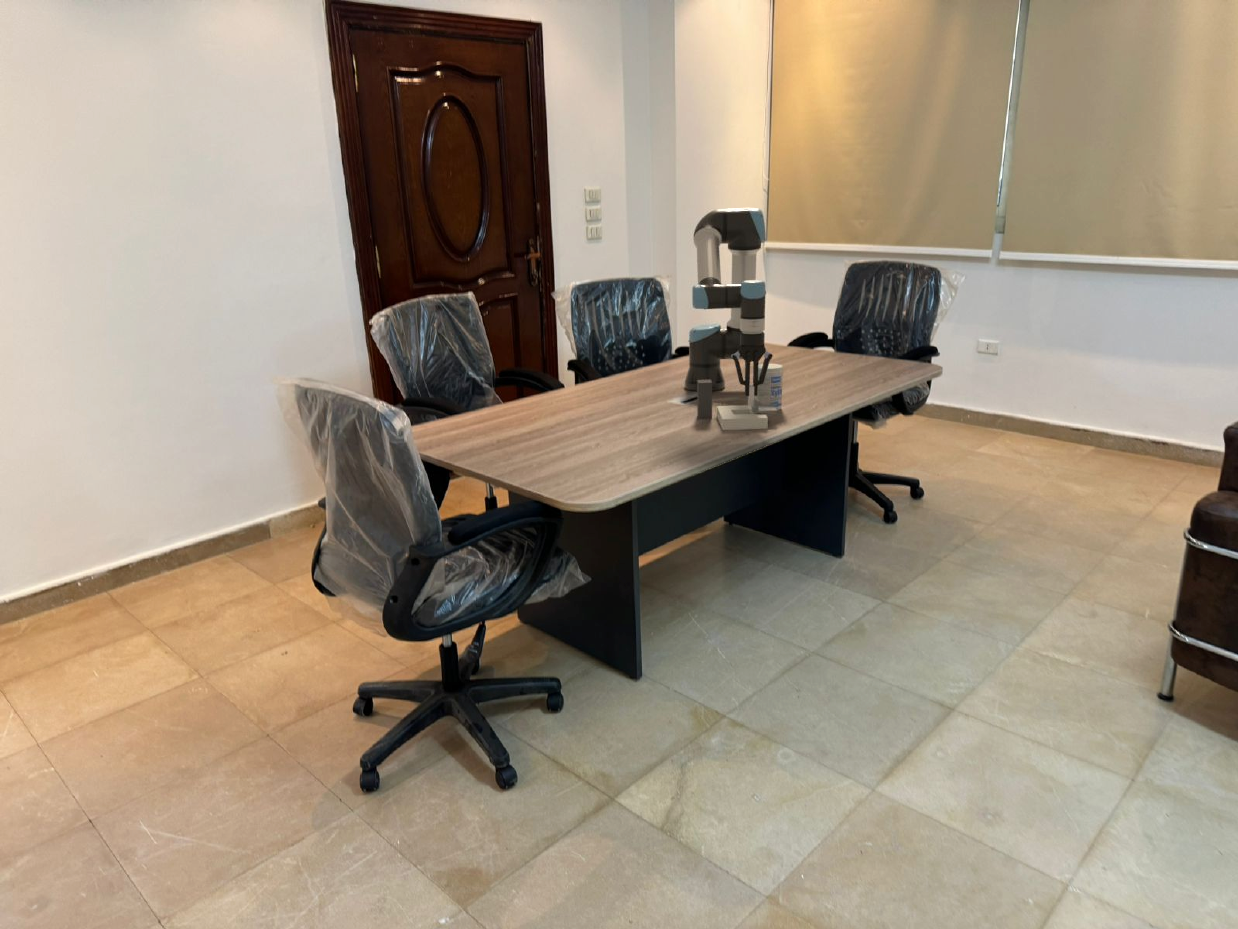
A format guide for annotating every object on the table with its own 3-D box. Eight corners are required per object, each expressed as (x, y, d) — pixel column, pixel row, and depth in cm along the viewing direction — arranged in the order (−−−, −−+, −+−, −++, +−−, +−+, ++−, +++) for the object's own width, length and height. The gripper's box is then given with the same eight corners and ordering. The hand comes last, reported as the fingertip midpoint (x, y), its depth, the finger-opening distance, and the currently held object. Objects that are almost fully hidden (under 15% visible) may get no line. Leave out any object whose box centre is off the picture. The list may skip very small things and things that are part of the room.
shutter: (751, 407, 262) (751, 396, 261) (773, 407, 262) (773, 395, 261) (754, 413, 256) (755, 401, 255) (777, 412, 256) (777, 400, 255)
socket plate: (716, 416, 268) (716, 406, 267) (759, 415, 268) (759, 404, 267) (722, 430, 253) (722, 419, 252) (767, 428, 253) (767, 417, 252)
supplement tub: (776, 413, 269) (777, 369, 265) (748, 410, 274) (749, 367, 269) (785, 406, 277) (786, 364, 272) (759, 403, 282) (759, 362, 277)
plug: (697, 415, 270) (697, 379, 266) (710, 414, 270) (710, 379, 266) (698, 418, 266) (698, 383, 262) (712, 418, 266) (712, 382, 262)
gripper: (732, 334, 248) (731, 409, 255) (775, 333, 247) (773, 408, 255) (729, 330, 255) (728, 403, 262) (771, 329, 255) (769, 402, 262)
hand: (750, 405), depth 259 cm, fingers closed
